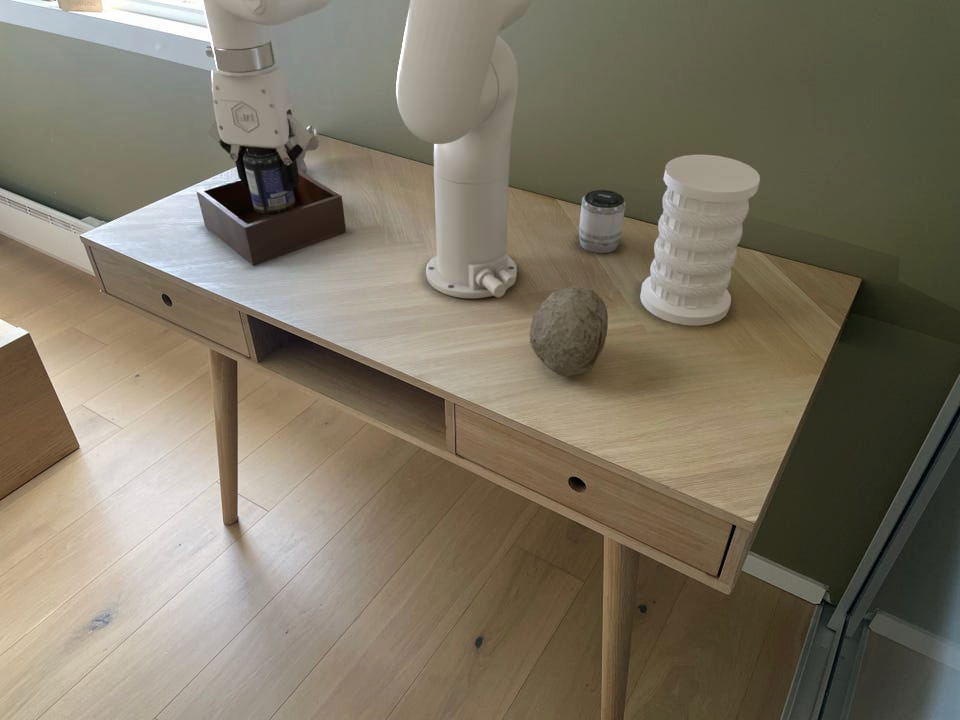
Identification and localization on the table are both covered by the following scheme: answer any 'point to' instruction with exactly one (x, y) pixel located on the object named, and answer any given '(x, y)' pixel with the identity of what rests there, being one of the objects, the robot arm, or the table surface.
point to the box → (271, 219)
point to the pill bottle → (267, 181)
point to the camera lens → (601, 221)
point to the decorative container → (698, 238)
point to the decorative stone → (570, 330)
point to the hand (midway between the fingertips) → (270, 184)
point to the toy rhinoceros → (311, 146)
